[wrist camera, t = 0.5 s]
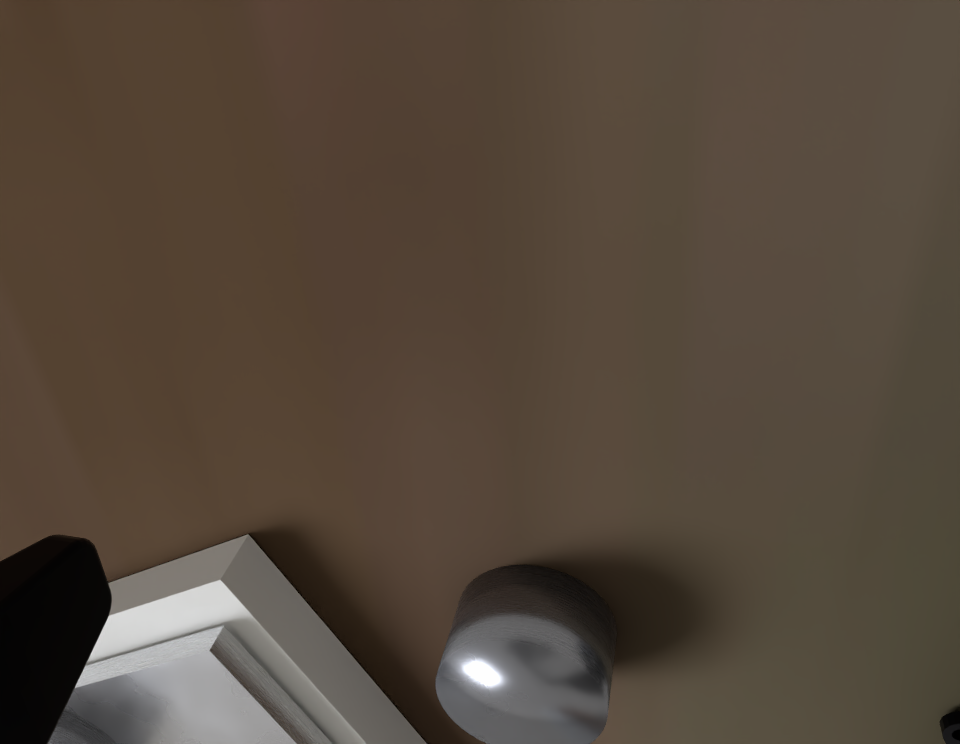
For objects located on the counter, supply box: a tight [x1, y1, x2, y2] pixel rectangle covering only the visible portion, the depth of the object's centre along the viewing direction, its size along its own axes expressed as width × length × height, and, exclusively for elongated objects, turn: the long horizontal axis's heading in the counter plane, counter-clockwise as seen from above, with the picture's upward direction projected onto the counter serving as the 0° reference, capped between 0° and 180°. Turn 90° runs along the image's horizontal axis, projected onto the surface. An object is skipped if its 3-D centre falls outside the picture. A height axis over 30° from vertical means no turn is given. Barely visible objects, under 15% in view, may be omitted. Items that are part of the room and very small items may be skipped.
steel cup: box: [436, 565, 617, 744], centre depth 27 cm, size 5×5×3 cm
